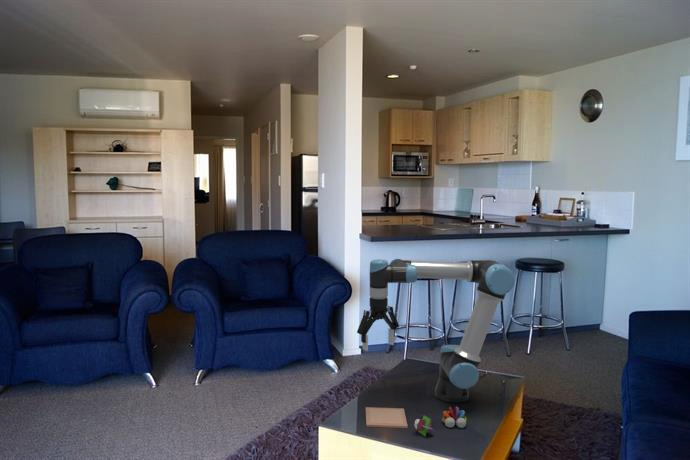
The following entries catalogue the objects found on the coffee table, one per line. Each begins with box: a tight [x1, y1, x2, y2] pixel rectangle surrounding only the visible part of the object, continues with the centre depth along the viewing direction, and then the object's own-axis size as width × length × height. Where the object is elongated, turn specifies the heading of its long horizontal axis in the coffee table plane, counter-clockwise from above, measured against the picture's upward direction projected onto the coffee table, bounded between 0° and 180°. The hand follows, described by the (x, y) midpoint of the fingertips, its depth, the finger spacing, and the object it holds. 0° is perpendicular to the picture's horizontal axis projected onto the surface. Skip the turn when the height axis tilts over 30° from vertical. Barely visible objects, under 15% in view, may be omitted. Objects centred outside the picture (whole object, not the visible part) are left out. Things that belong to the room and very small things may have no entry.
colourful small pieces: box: [441, 406, 468, 429], centre depth 212 cm, size 8×10×7 cm
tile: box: [365, 406, 409, 429], centre depth 215 cm, size 16×16×1 cm
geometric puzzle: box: [414, 414, 435, 438], centre depth 203 cm, size 7×7×8 cm
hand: (378, 347), depth 222 cm, fingers open, 13 cm apart
